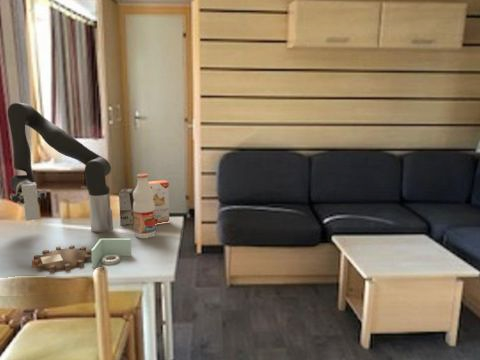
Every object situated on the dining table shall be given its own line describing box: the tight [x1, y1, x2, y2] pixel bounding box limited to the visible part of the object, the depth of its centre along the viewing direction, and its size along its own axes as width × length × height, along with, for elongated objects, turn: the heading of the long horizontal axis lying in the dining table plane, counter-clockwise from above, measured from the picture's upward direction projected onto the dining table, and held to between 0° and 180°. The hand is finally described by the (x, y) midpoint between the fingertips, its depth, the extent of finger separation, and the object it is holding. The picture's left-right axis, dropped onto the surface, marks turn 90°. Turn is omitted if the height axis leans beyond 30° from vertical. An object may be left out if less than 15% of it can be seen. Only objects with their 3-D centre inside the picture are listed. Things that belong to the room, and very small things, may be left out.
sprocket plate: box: [31, 244, 92, 273], centre depth 173 cm, size 22×22×2 cm
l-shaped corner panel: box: [90, 238, 132, 268], centre depth 172 cm, size 12×12×8 cm
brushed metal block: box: [21, 181, 40, 221], centre depth 178 cm, size 5×5×14 cm
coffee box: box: [118, 187, 136, 226], centre depth 217 cm, size 9×6×16 cm
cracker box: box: [148, 179, 170, 224], centre depth 214 cm, size 14×6×21 cm, turn 119°
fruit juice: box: [133, 173, 157, 239], centre depth 198 cm, size 9×9×28 cm
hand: (31, 200), depth 176 cm, fingers closed on brushed metal block, 5 cm apart
